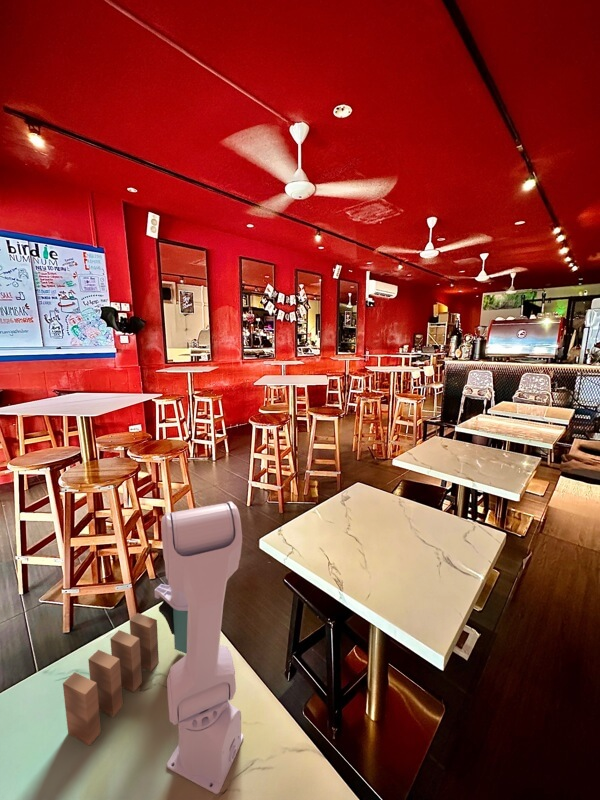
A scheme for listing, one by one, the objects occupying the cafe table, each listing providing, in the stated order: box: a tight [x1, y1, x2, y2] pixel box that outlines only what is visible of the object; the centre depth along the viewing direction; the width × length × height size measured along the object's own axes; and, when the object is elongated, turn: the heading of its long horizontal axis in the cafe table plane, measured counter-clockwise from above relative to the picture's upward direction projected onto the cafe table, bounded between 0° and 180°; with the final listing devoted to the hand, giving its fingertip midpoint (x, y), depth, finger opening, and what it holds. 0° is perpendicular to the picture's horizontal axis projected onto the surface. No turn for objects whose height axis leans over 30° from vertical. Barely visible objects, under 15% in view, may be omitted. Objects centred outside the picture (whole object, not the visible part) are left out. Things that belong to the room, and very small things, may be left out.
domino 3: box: [110, 629, 143, 693], centre depth 64 cm, size 5×2×10 cm, turn 71°
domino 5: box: [173, 608, 188, 655], centre depth 69 cm, size 5×2×10 cm, turn 71°
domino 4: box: [129, 612, 160, 671], centre depth 68 cm, size 5×2×10 cm, turn 71°
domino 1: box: [62, 672, 102, 746], centre depth 55 cm, size 5×2×10 cm, turn 71°
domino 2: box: [88, 649, 124, 718], centre depth 59 cm, size 5×2×10 cm, turn 71°
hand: (187, 634), depth 70 cm, fingers closed on domino 5, 5 cm apart
